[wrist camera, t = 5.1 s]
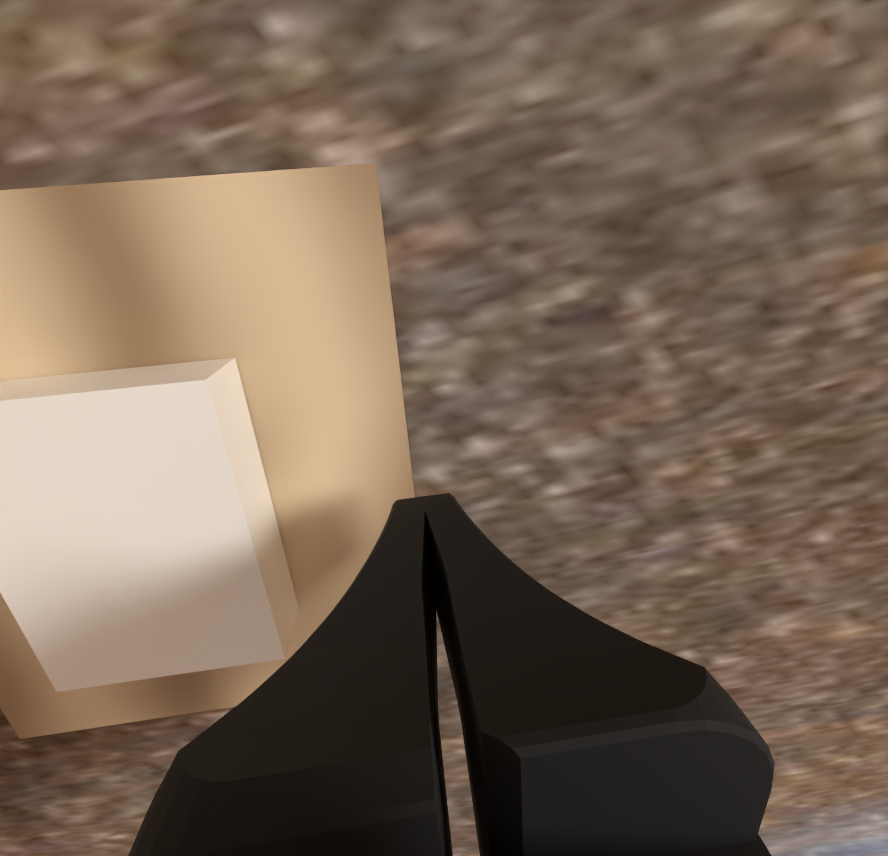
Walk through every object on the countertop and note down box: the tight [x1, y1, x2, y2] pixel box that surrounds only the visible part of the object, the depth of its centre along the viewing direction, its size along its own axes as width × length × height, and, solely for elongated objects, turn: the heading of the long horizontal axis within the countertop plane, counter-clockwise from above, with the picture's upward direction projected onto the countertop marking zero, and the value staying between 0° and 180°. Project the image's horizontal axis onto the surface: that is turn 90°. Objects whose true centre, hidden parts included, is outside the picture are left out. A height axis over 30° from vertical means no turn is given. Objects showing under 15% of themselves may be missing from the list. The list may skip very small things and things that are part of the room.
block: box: [0, 358, 298, 692], centre depth 12 cm, size 2×8×6 cm
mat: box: [0, 163, 415, 739], centre depth 13 cm, size 14×16×1 cm
